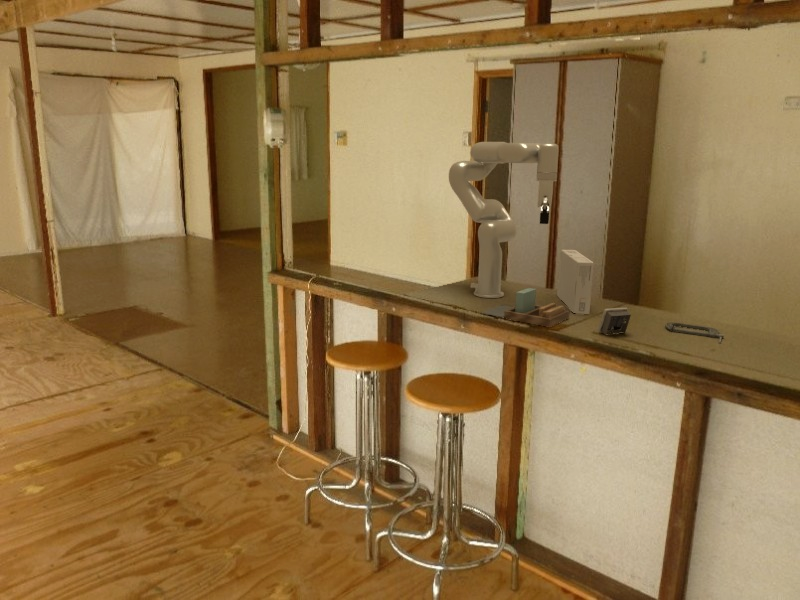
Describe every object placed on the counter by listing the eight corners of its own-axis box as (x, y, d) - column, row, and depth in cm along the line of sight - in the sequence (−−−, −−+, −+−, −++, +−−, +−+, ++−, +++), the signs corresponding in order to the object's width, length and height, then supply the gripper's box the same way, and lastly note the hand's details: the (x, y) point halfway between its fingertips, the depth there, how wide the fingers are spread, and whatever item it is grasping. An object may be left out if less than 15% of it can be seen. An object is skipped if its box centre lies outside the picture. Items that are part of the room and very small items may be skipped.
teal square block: (514, 318, 247) (516, 292, 245) (527, 313, 255) (528, 287, 253) (522, 320, 246) (523, 293, 243) (534, 314, 253) (536, 289, 251)
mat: (481, 314, 252) (481, 312, 252) (501, 306, 265) (501, 305, 265) (502, 318, 247) (502, 316, 247) (522, 310, 259) (522, 308, 259)
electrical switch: (620, 330, 234) (624, 305, 231) (629, 336, 230) (633, 310, 227) (597, 332, 232) (601, 307, 228) (605, 338, 227) (609, 312, 224)
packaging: (589, 314, 255) (594, 262, 251) (573, 314, 255) (577, 262, 251) (571, 296, 285) (575, 249, 280) (557, 296, 285) (560, 249, 280)
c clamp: (729, 333, 235) (730, 326, 235) (720, 345, 221) (721, 337, 221) (668, 324, 246) (669, 316, 246) (657, 334, 232) (658, 327, 232)
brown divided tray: (503, 318, 246) (504, 311, 246) (524, 310, 259) (525, 303, 258) (549, 327, 236) (550, 319, 235) (569, 318, 248) (569, 310, 248)
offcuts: (537, 323, 241) (538, 308, 240) (551, 317, 250) (552, 302, 249) (548, 325, 238) (550, 310, 237) (563, 319, 248) (564, 304, 246)
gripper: (537, 176, 262) (535, 220, 266) (535, 177, 246) (533, 224, 250) (556, 176, 261) (554, 220, 264) (556, 178, 244) (554, 225, 248)
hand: (544, 222), depth 257 cm, fingers open, 9 cm apart
